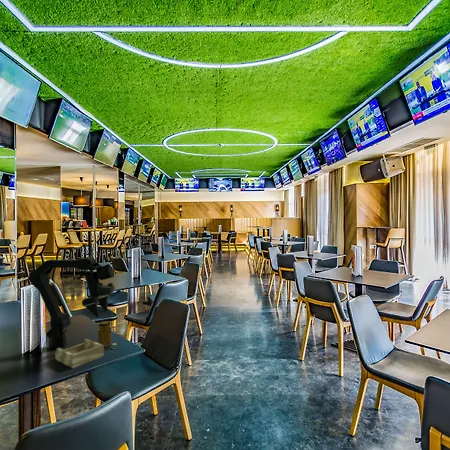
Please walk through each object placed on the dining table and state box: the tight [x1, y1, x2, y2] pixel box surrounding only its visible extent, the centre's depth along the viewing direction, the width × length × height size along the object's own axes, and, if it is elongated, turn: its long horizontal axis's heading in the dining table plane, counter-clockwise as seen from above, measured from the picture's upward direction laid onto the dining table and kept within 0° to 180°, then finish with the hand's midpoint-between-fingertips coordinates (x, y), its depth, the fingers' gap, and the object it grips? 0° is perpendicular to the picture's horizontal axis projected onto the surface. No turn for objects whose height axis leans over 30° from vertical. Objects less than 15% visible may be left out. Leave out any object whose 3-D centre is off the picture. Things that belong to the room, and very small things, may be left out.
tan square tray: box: [54, 338, 105, 369], centre depth 136 cm, size 15×14×5 cm
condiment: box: [97, 320, 117, 351], centre depth 148 cm, size 7×8×12 cm
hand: (102, 314), depth 147 cm, fingers open, 9 cm apart
